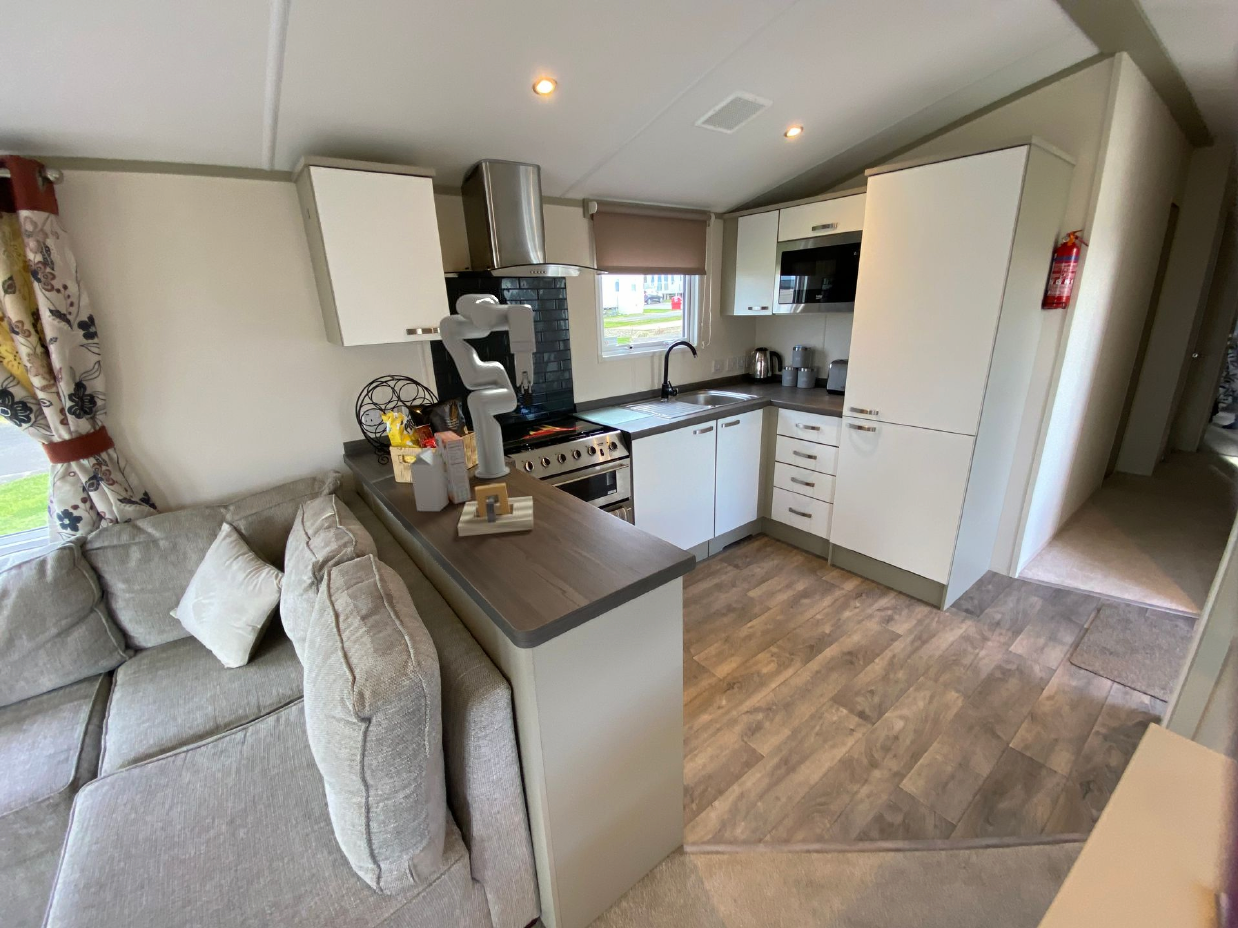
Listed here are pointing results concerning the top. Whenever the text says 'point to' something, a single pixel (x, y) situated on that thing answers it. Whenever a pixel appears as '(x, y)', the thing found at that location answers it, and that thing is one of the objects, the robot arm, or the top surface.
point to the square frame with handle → (496, 517)
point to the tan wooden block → (488, 491)
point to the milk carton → (429, 481)
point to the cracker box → (454, 465)
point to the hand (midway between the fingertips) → (528, 403)
